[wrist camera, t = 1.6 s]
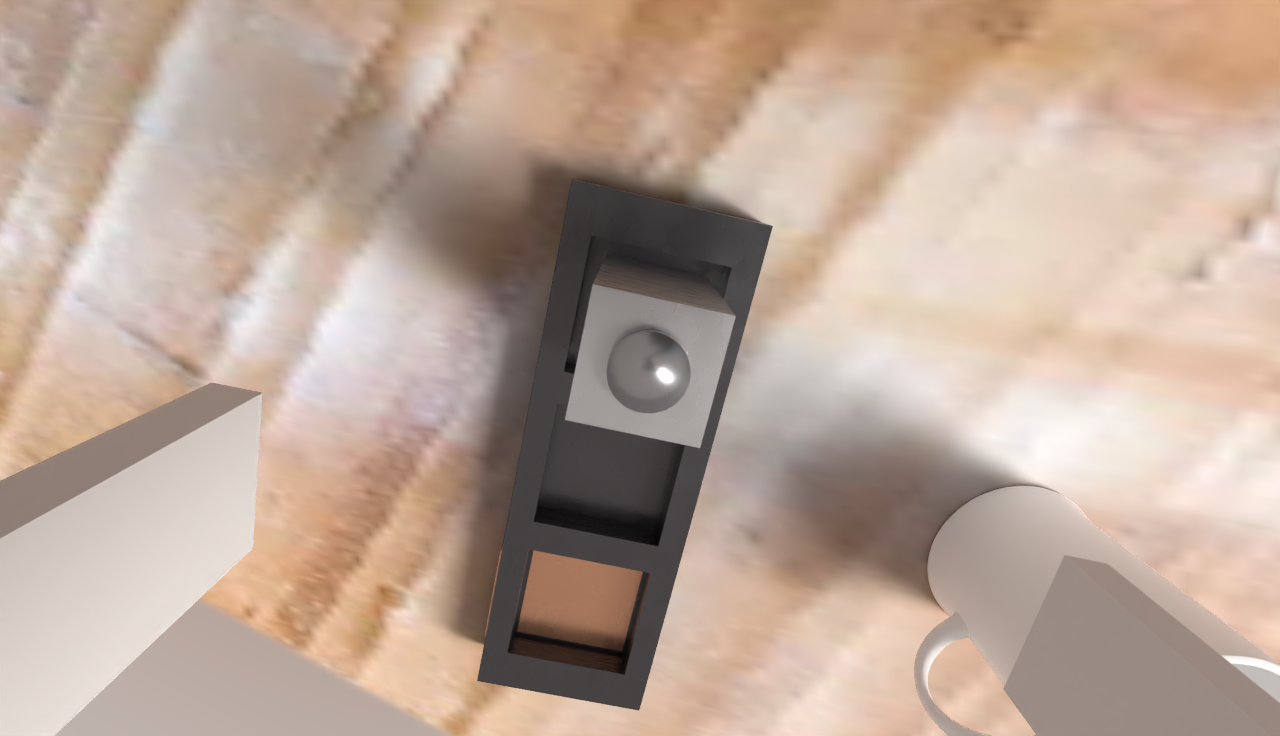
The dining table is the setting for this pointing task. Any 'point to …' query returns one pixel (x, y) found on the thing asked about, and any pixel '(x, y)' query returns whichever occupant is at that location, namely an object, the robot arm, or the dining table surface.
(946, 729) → the mug
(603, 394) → the grey block with knob
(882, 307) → the dining table surface
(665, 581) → the tray with compartments
